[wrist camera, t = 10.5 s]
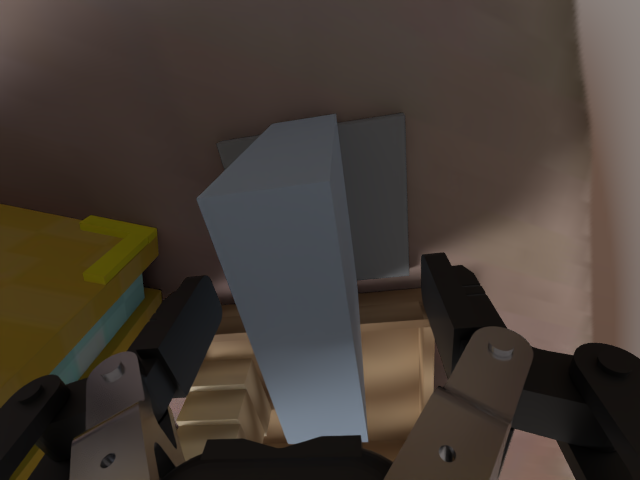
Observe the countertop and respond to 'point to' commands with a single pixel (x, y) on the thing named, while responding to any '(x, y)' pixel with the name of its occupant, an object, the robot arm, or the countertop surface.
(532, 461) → the countertop surface
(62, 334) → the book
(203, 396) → the offcut middle
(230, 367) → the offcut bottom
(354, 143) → the mat
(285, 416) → the block
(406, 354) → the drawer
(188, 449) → the offcut top
